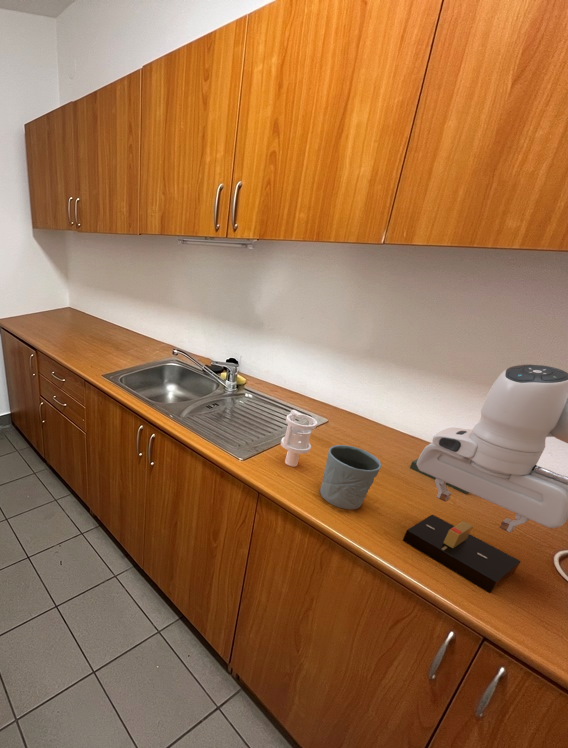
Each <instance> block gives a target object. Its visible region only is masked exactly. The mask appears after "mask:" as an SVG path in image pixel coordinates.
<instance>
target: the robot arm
mask: <svg viewBox="0 0 568 748" xmlns="http://www.w3.org/2000/svg"><path fill="white" fill-rule="evenodd" d="M547 438H555V439H557V440H559V441H561V442H564V443H565V444H568V372H567V371H565V370H564V369H560V368H557V367H554V366H549V365H543V364H541V365H540V364H518V365H514V366H510V367H507V368H506V369H504V370H503V371H502V372H501V373H500V374H499V375H498V376H497V378H496V379H495V381H494V382H493V384H492V385H491V387H490V388H489V391H488V392H487V395H486V396H485V399H484V401H483V403H482V406H481V408H480V419H479V420H478V422H477V423H476V424H475V425H474V426H473V428H472V429H470V428H462V427H449V428H446V429H443V430H440V431H439V432H436V434H435V435H433V437H432V440H431V441H432V442H430V443H429V444H427V445H426V446H424V448H423V450H422V451H421V453H420V455H419V457H418V458H417V459H418V461H417V467H418V469H419V470H420V471H422V472H424V473H427V474H429V475H431V476H433V477H436V479H435V480H434V484H435V486H436V490H437V495H436V499H439V500H440V501H442V502H446V503H447V502H448V501H449V500H450V498H451V496H452V494H453V492H451V490H448V488H447V485H446V484H445V483H449V484H451V485H454V486H456V487H458V488H460V489H463V490H465V491H467V492H469V493H468V494H472V495H473V496H476V497H478V498H480V499H483V500H485V501H487V502H490V503H492V504H494V505H496V506H498V507H501V508H503V509H505V510H508V511H510V512H512V513H515V516H514V518H515V519H511V518H509V517H506V518H504V519H502V521H501V523H500V525H499V529H501V530H503V531H505V532H507V533H510V534H511V533H512V532H513V531H515V529H516V527H517V526H520V525H524V524H526V523H528V521H532V522H534V523H537V524H539V525H541V526H544V527H546V528H547V529H557V528H561V527H562V526H564V524H566V522H567V521H568V476H566V475H562V474H560V473H557V472H554V471H552V470H550V469H547V468H545V467H542V466H539V465H538V463H539V460H540V459H541V457H542V454H543V453H544V450H545V448H546V440H547Z"/></svg>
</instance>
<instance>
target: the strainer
mask: <svg viewBox="0 0 568 748" xmlns="http://www.w3.org/2000/svg"><path fill="white" fill-rule="evenodd" d="M296 419H303V420H306V421H308V423H307V424H300V423H299V422H297V421H296ZM285 422H286V424H287V427H286V430H285V435H284V436H283V437H282V438H281V440H280V446H281V447H282V448H283V449H285V450H286V451H287V452H286V456H285V460H284V464H285V465H287V466H289V467H293V468H294V467H297V466H298V463H299V459H300V456H301V455H303V454H304V455H305V454H308V453H310V452H311V448H312V445H311V443H310V440H311V435H312V432H313V430H315V429H316V428H317V425H318V421H317V419H316V418H314V417H313V416H310V415H307V414H304V413H301V412H300V411H298V410H296V409H291V410H290V413H289V414H287V415H286V417H285Z"/></svg>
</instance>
